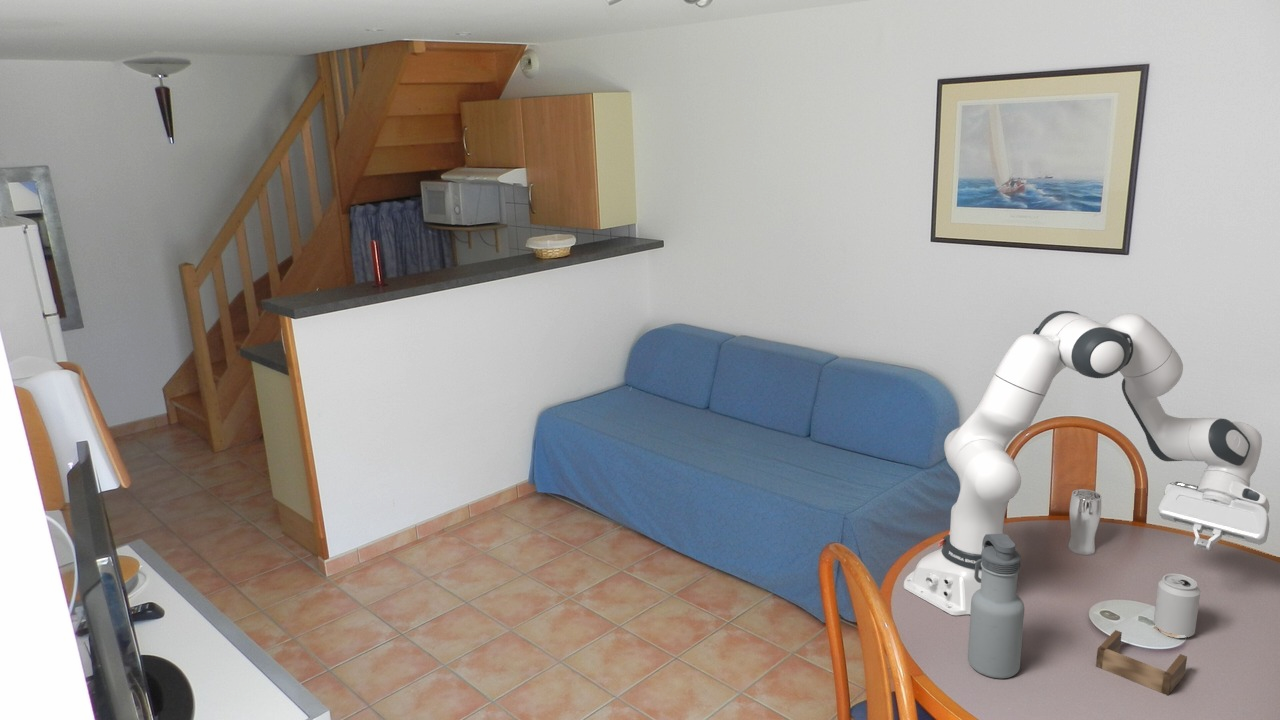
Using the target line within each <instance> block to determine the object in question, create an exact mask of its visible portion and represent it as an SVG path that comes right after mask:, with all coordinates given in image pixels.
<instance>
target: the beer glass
mask: <svg viewBox="0 0 1280 720" xmlns="http://www.w3.org/2000/svg"><path fill="white" fill-rule="evenodd" d="M1101 515H1102V495H1101V494H1100V493H1099V492H1097V491H1094V490H1092V489H1084V488H1083V489H1075V490H1073V491H1072V492H1071V497H1070V503H1069V522H1070V539H1069V542H1068V544H1067V545H1068V546H1067V548H1068V550H1071V551H1070V552H1072V553H1075V554H1077V555H1081V556H1090V555H1094V553H1096V545H1095V537H1096V533H1097V530H1098V528H1099V523H1100V520H1101V517H1102V516H1101Z"/></svg>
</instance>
